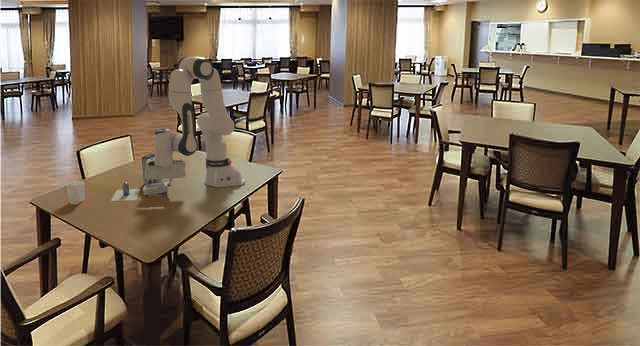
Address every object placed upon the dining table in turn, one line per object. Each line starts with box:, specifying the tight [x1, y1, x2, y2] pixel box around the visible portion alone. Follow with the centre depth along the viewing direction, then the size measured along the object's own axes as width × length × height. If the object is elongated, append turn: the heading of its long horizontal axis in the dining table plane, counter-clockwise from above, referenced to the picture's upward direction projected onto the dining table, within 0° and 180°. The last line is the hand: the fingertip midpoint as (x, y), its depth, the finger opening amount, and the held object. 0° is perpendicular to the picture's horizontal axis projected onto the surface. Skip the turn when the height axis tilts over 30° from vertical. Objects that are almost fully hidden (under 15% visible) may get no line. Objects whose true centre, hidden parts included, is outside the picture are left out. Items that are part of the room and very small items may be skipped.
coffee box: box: [141, 153, 160, 185], centre depth 278 cm, size 9×6×16 cm
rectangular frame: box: [142, 181, 170, 196], centre depth 261 cm, size 12×8×3 cm, turn 101°
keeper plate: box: [110, 188, 142, 202], centre depth 259 cm, size 12×18×1 cm, turn 12°
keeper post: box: [121, 181, 130, 196], centre depth 258 cm, size 3×3×6 cm
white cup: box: [65, 180, 86, 205], centre depth 247 cm, size 8×8×10 cm
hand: (166, 186), depth 262 cm, fingers closed on rectangular frame, 2 cm apart
